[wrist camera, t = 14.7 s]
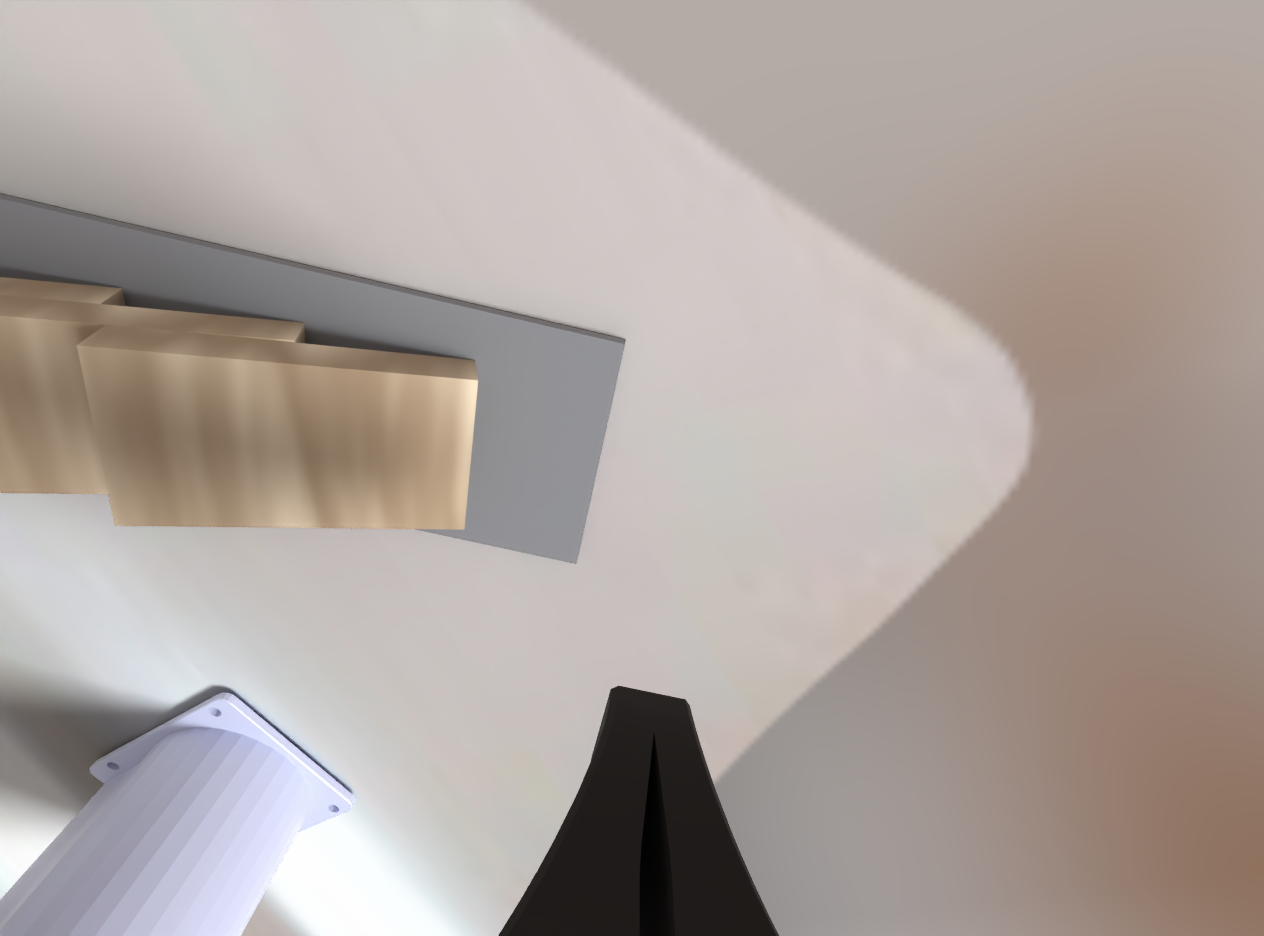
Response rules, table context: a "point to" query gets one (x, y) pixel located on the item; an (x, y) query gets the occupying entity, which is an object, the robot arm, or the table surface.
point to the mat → (383, 321)
